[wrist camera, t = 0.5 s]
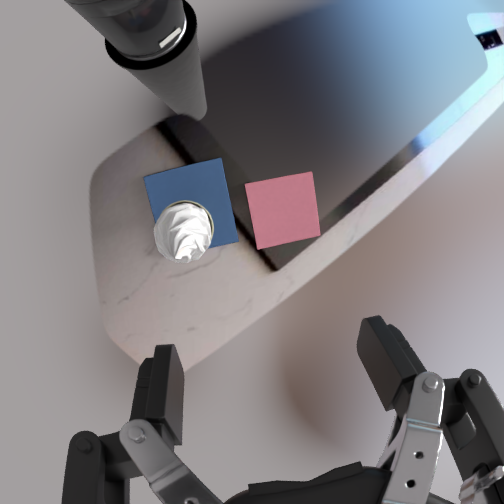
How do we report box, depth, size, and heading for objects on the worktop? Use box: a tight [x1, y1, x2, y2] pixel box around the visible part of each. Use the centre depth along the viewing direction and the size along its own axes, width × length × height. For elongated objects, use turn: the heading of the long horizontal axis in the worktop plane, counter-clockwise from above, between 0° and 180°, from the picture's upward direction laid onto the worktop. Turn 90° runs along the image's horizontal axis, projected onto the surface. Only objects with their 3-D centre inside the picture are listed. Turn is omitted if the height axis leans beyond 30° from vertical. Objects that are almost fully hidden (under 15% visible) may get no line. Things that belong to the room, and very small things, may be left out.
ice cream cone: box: [153, 200, 214, 263], centre depth 26 cm, size 5×5×15 cm
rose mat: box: [245, 172, 320, 249], centre depth 35 cm, size 8×8×1 cm
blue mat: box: [144, 158, 239, 249], centre depth 33 cm, size 10×9×1 cm
